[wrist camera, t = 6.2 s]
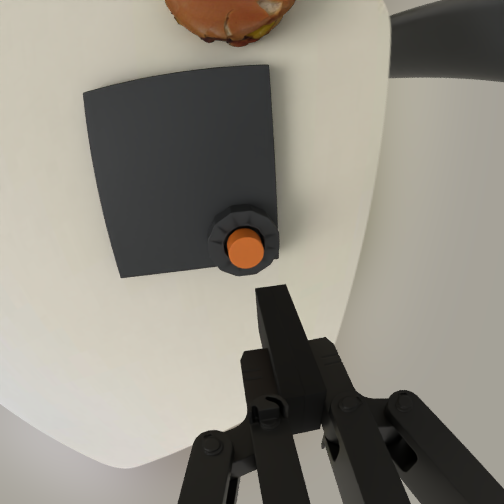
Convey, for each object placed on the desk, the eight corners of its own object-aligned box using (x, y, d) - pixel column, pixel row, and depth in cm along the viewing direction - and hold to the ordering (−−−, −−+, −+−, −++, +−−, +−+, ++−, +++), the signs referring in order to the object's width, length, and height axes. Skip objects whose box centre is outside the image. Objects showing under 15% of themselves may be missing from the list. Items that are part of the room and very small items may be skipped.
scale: (265, 66, 21) (273, 61, 18) (275, 254, 28) (283, 270, 25) (88, 93, 19) (74, 92, 17) (124, 272, 27) (117, 291, 24)
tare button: (259, 225, 24) (263, 235, 22) (261, 255, 25) (264, 266, 23) (225, 229, 24) (227, 239, 22) (228, 259, 25) (230, 270, 23)
